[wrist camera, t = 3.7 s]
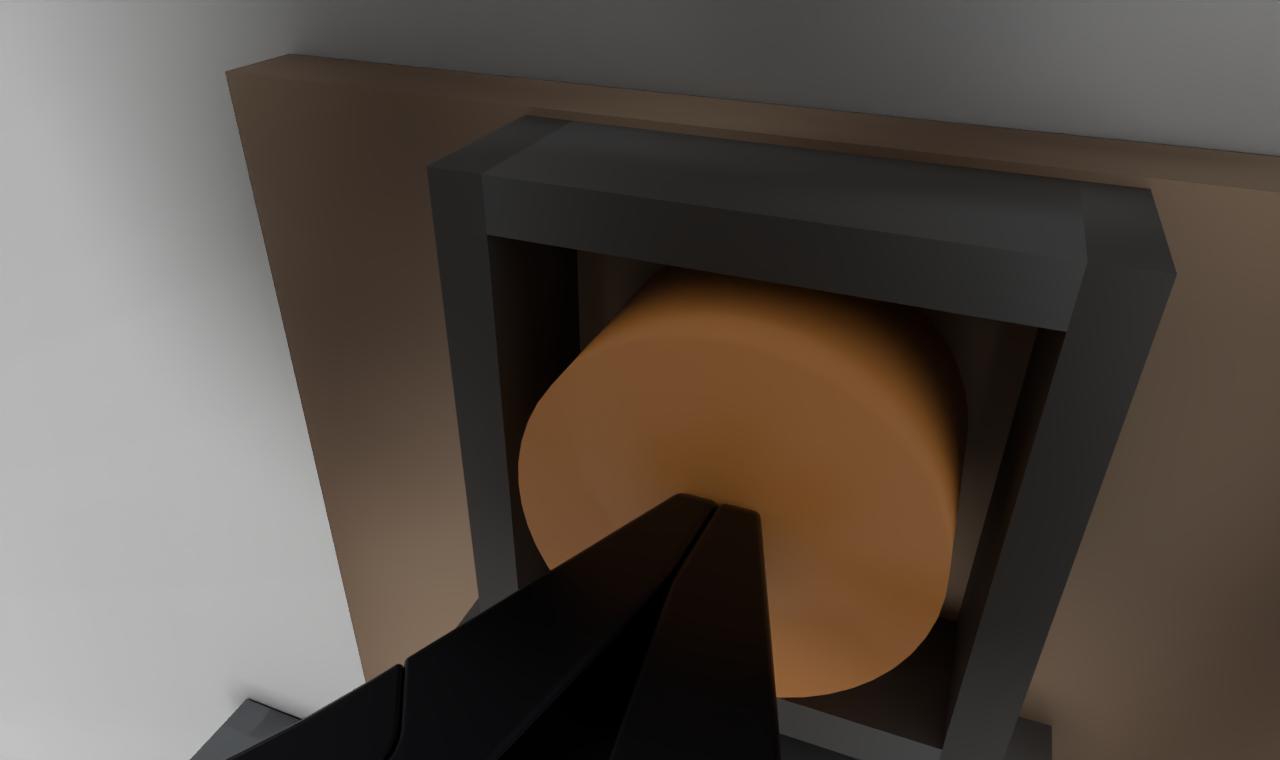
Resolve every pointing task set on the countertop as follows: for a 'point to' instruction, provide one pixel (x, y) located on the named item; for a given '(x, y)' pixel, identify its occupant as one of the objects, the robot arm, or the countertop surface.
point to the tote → (243, 731)
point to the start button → (770, 454)
